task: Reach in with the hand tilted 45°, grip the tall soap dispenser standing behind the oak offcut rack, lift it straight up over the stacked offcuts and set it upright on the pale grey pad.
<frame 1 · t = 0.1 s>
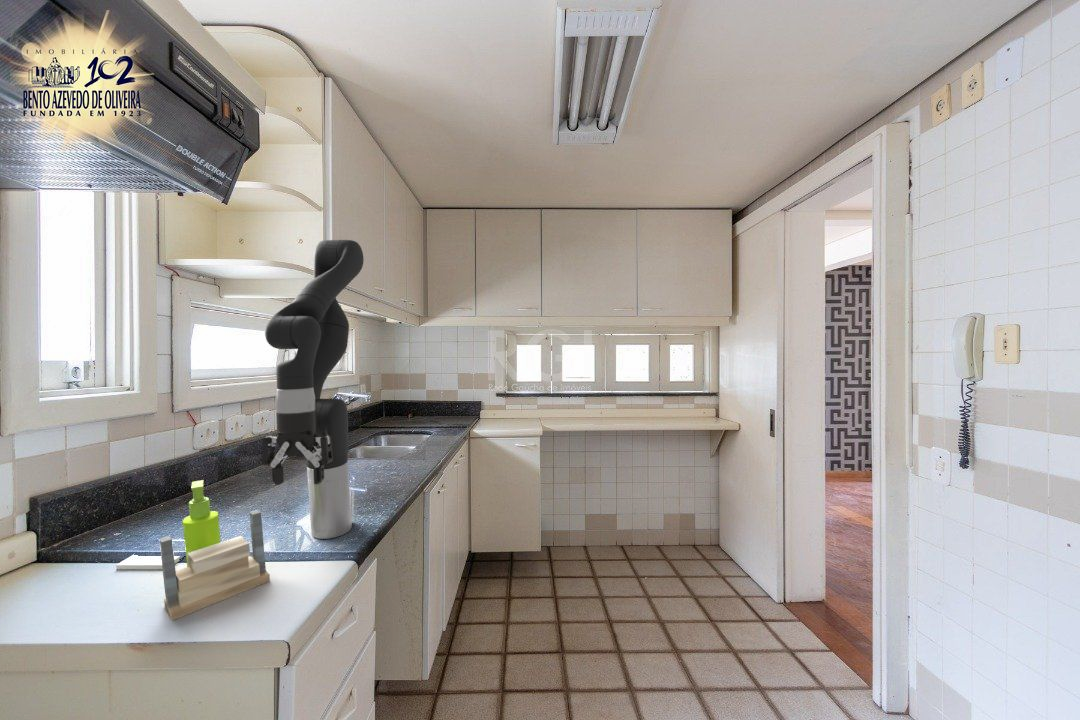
hand: (298, 483, 102), 17 cm above the table, tool pointing down, fingers open, 8 cm apart
pad: (162, 555, 106), on the table
soap dispenser: (206, 577, 98), on the table
offcut rack: (219, 593, 92), on the table
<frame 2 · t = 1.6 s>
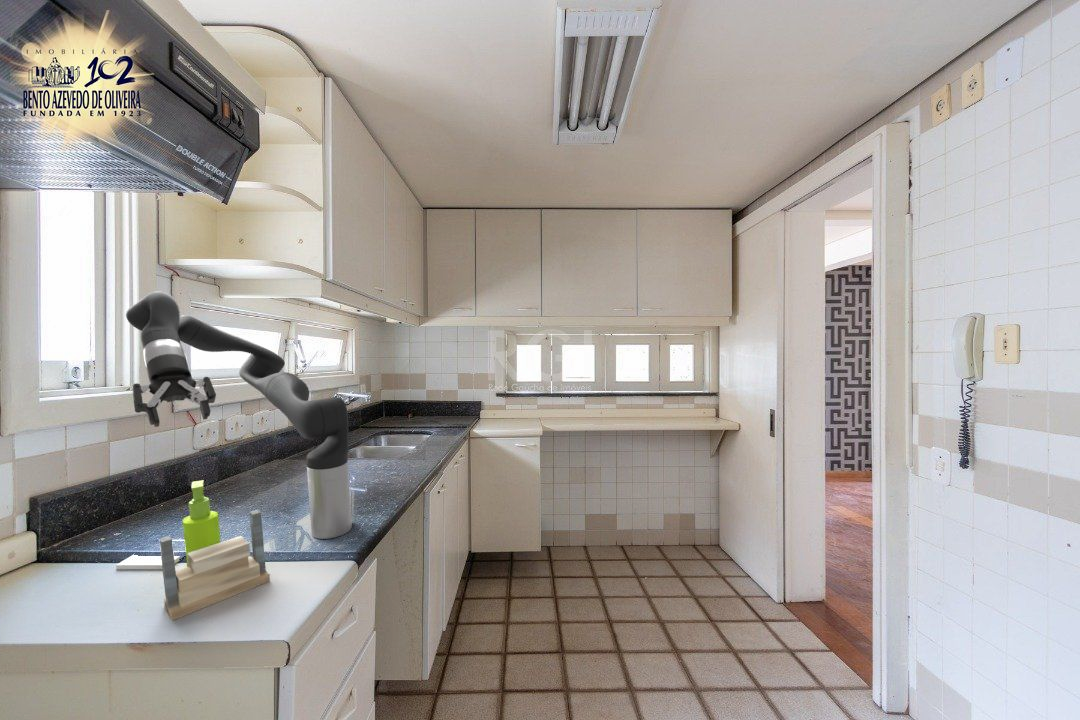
hand: (182, 420, 102), 31 cm above the table, tool tilted 45°, fingers open, 8 cm apart
nothing on the table moved.
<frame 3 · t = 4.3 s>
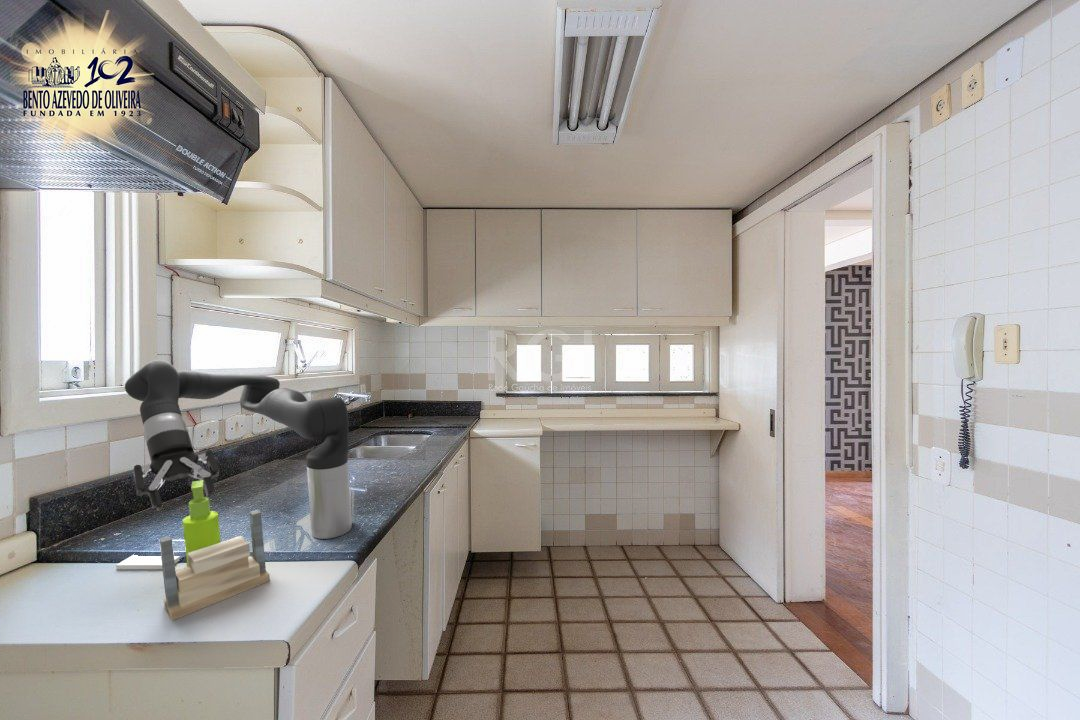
hand: (185, 501, 99), 15 cm above the table, tool tilted 45°, fingers open, 8 cm apart
nothing on the table moved.
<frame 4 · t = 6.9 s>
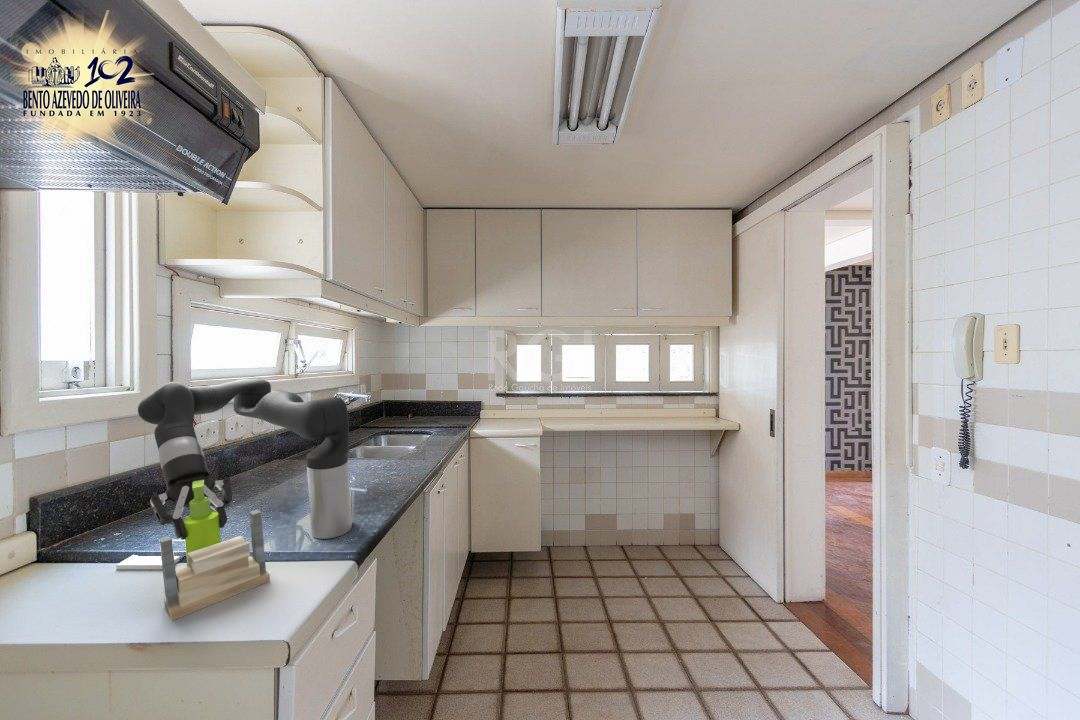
hand: (203, 531, 95), 10 cm above the table, tool tilted 45°, fingers closed on soap dispenser, 6 cm apart
soap dispenser: (206, 577, 98), on the table, touching gripper
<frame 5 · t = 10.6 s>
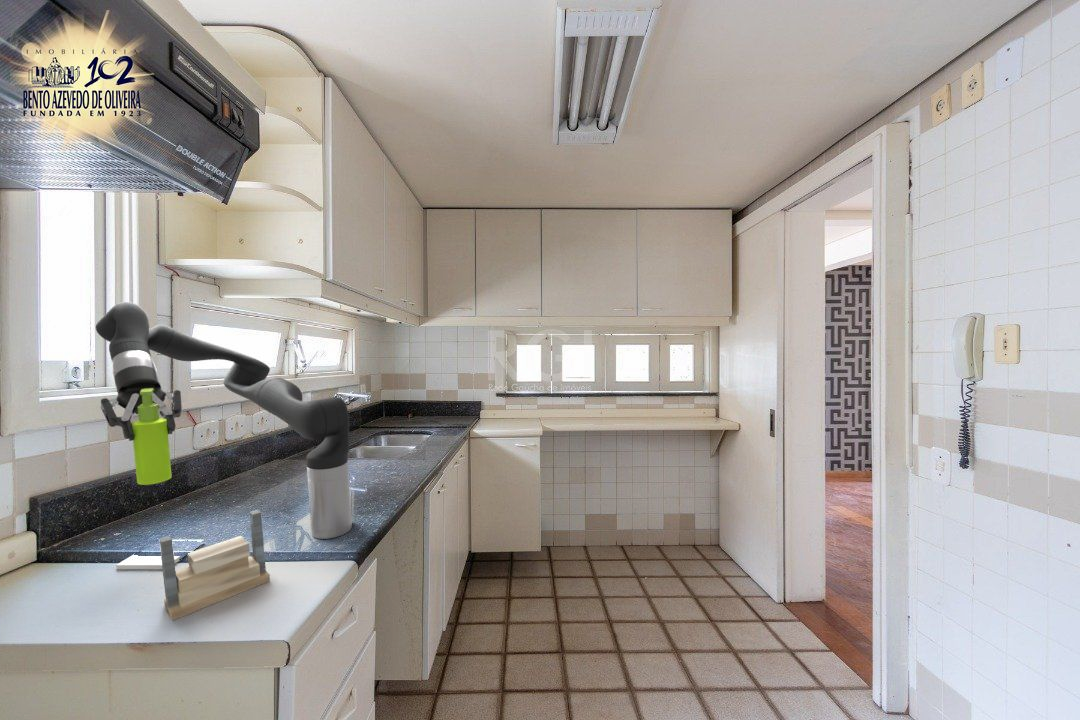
hand: (151, 435, 101), 28 cm above the table, tool tilted 45°, fingers closed on soap dispenser, 6 cm apart
soap dispenser: (155, 479, 103), point 18 cm above the table, touching gripper
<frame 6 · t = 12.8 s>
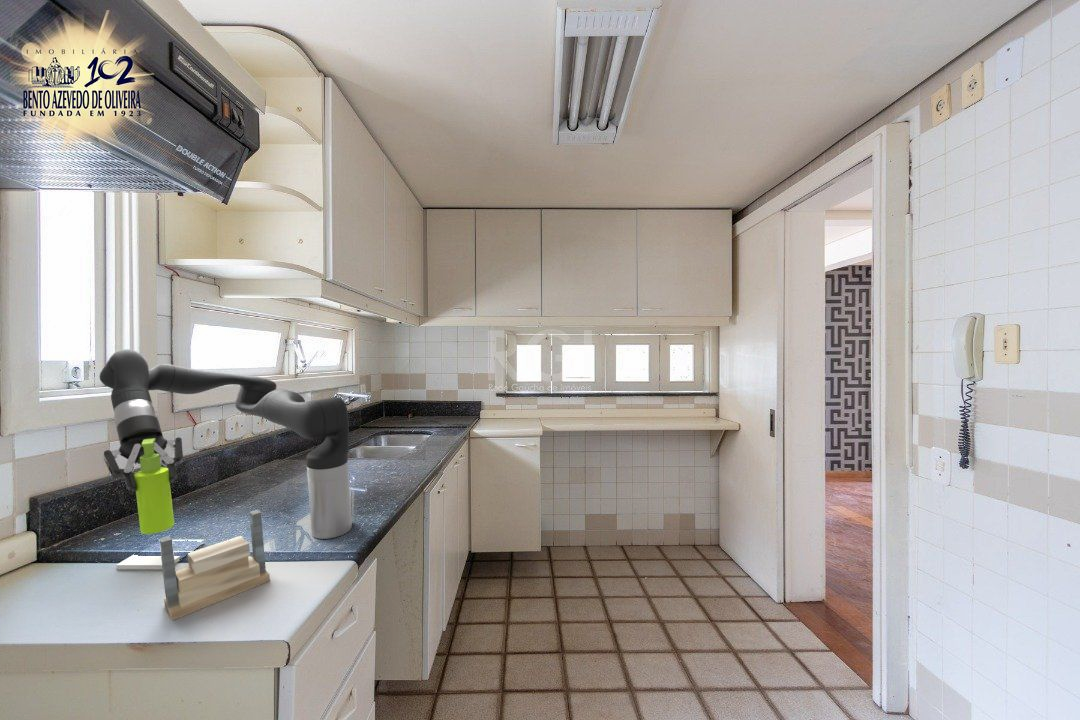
hand: (153, 485, 103), 17 cm above the table, tool tilted 45°, fingers closed on soap dispenser, 6 cm apart
soap dispenser: (158, 527, 106), point 7 cm above the table, touching gripper
when the fingers open (13 cm above the table, at t = 14.7 s): soap dispenser drops 1 cm, resting on pad.
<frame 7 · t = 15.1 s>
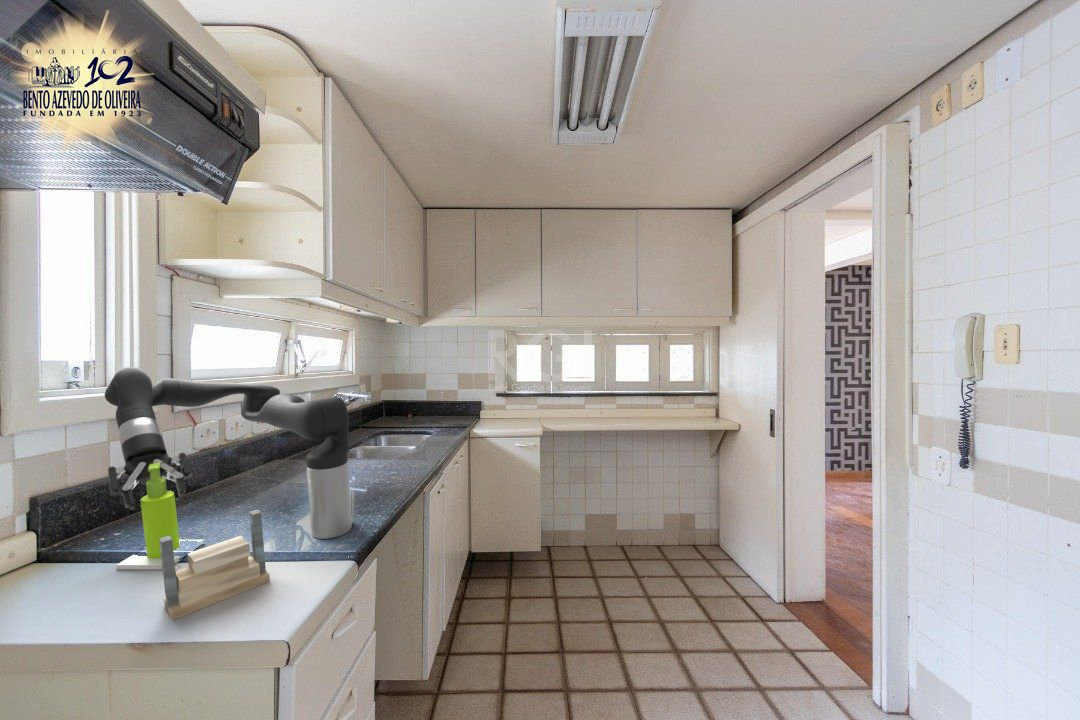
hand: (157, 501, 104), 13 cm above the table, tool tilted 45°, fingers open, 8 cm apart
soap dispenser: (164, 551, 106), point 1 cm above the table, touching pad
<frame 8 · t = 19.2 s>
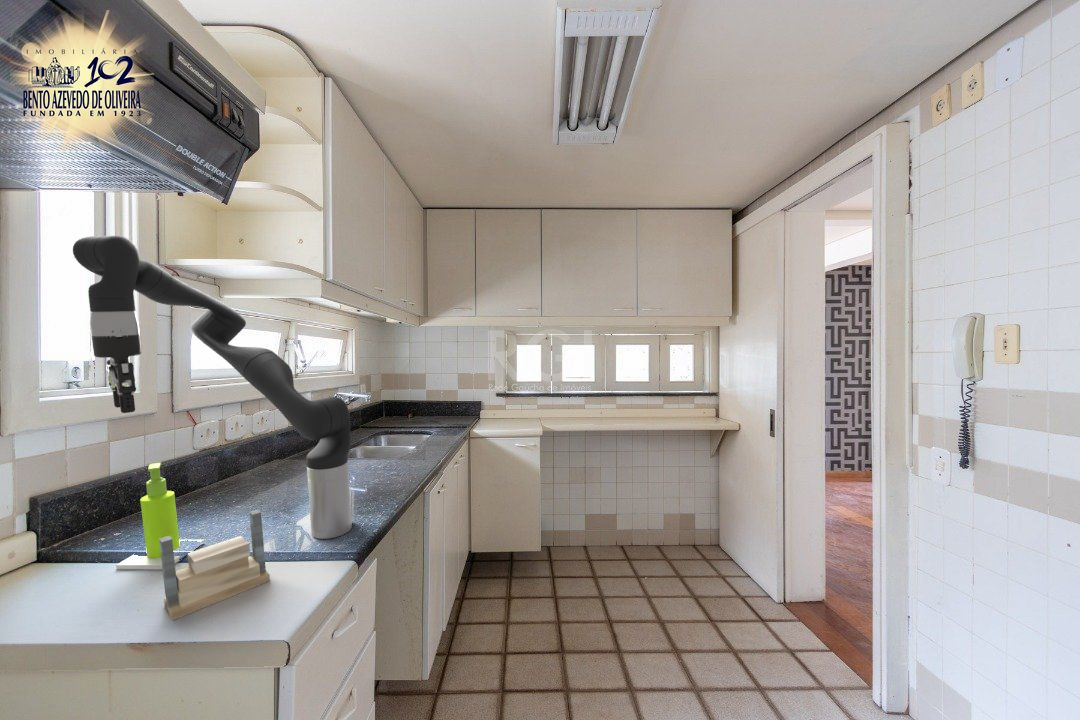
hand: (124, 409, 100), 34 cm above the table, tool pointing down, fingers open, 8 cm apart
nothing on the table moved.
at the end: soap dispenser inside the target area on the pad (0.4 cm from its centre), point 0.8 cm above the pad's base; soap dispenser tilted 0°; the gripper is holding nothing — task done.
